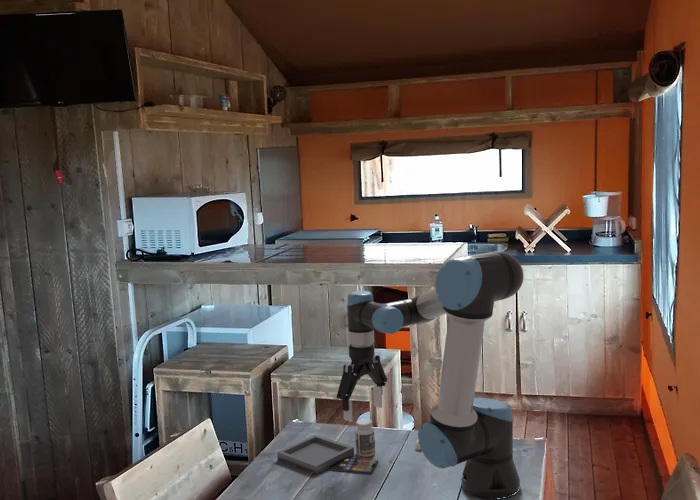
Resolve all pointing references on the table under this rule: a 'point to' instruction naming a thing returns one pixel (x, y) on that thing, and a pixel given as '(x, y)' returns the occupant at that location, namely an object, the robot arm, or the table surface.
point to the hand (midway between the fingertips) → (363, 413)
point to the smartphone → (354, 466)
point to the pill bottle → (365, 438)
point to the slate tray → (315, 454)
